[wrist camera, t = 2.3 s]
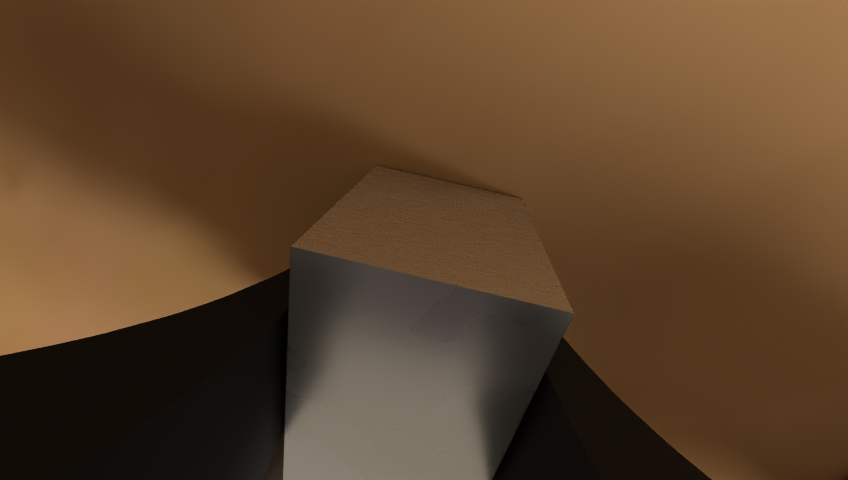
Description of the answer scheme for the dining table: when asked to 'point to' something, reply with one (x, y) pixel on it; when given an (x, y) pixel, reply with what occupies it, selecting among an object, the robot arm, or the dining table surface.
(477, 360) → the brushed metal block
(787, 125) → the dining table surface
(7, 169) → the dining table surface
